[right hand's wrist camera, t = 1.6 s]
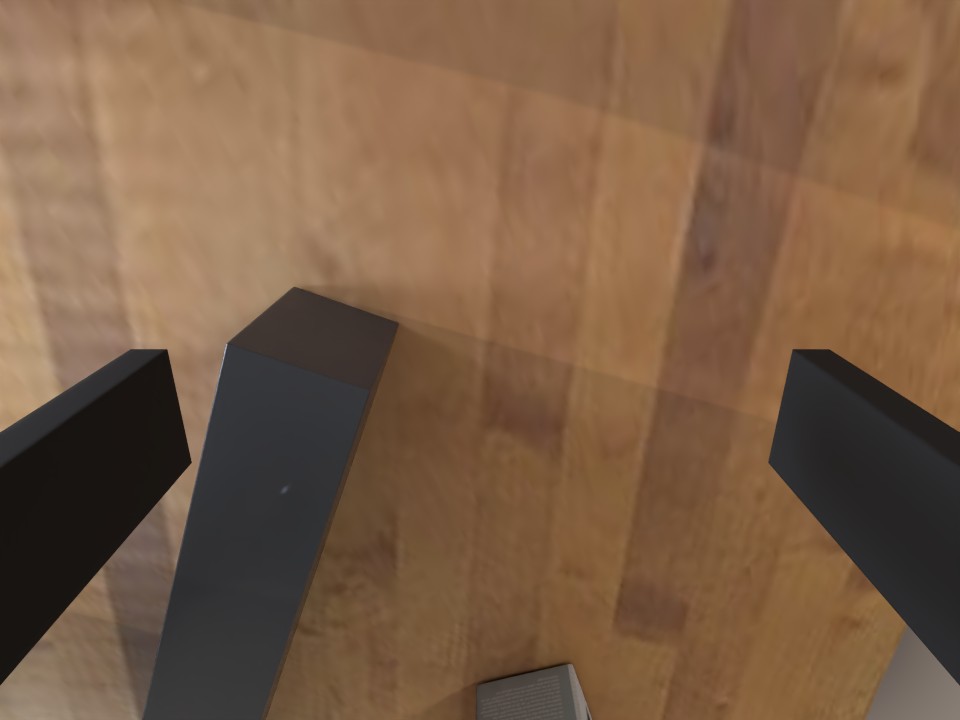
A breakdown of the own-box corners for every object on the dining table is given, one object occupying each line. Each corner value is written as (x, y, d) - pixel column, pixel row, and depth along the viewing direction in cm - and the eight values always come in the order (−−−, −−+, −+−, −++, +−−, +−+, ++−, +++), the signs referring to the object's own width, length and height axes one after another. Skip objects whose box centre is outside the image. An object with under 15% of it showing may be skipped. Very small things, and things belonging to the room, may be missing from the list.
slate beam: (180, 719, 44) (110, 858, 36) (293, 286, 31) (225, 342, 23) (258, 738, 45) (207, 879, 36) (399, 322, 32) (370, 390, 24)
